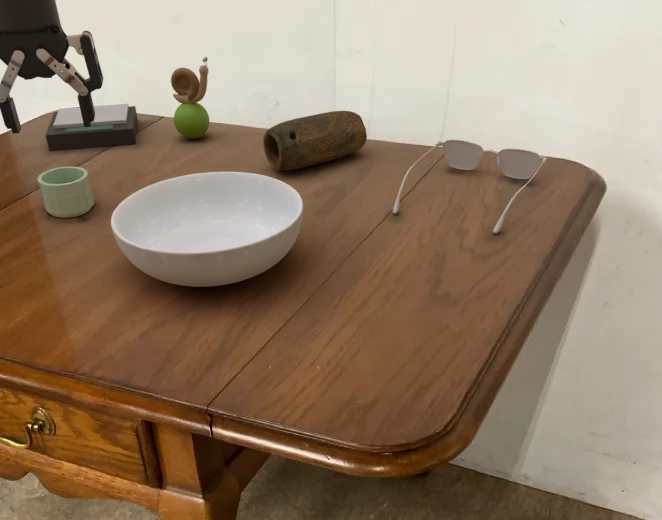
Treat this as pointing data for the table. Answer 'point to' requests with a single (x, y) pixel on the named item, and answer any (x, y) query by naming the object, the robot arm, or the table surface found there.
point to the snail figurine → (190, 101)
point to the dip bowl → (66, 191)
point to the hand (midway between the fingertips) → (52, 128)
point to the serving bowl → (208, 227)
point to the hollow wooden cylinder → (313, 139)
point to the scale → (93, 128)
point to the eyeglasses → (471, 154)
